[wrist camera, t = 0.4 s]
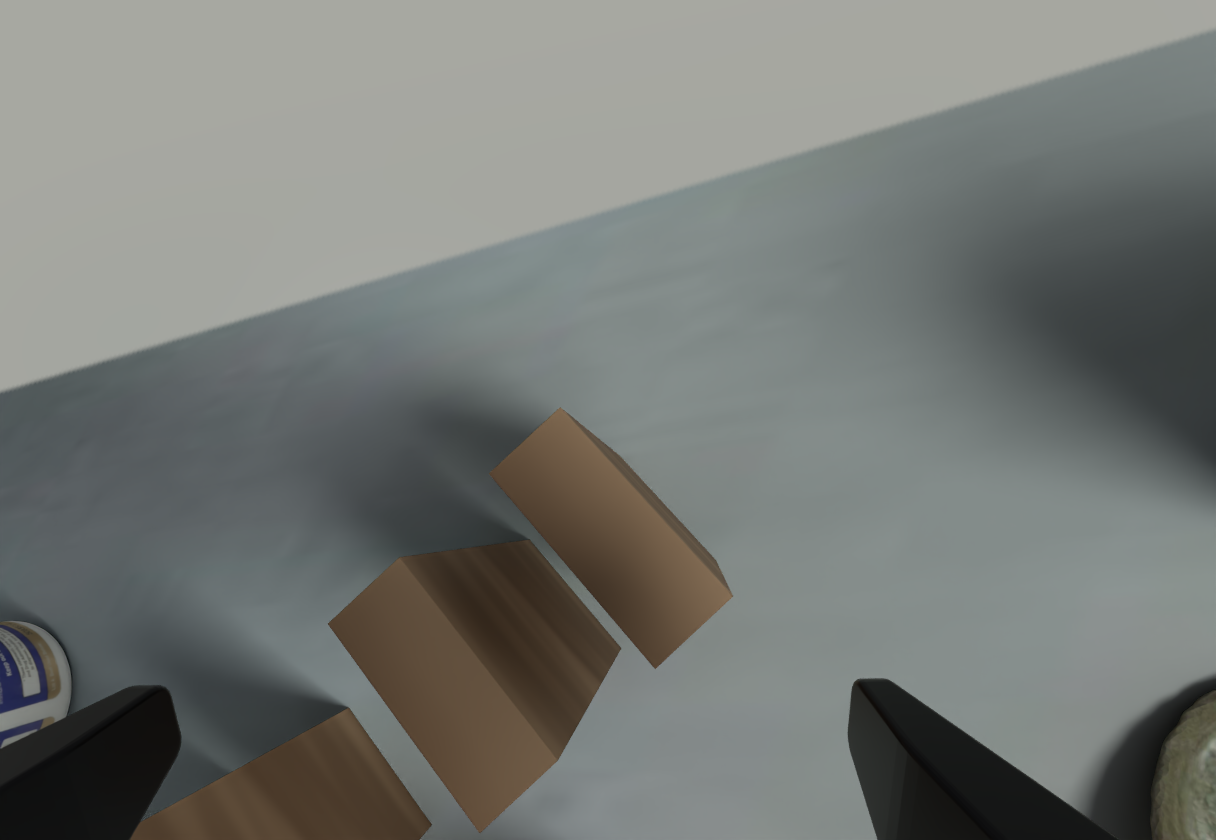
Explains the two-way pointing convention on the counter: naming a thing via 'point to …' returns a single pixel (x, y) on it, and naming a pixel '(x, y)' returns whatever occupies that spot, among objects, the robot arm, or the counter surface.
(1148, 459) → the counter surface
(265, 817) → the domino
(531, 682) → the domino
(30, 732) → the pill bottle
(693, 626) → the domino
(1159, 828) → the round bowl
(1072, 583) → the counter surface
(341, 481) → the counter surface
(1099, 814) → the counter surface
